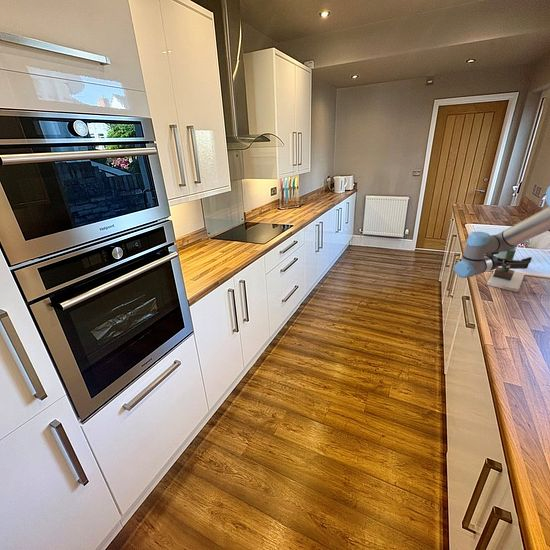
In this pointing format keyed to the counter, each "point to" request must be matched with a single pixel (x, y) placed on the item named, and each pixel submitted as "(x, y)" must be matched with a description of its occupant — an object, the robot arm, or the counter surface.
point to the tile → (507, 281)
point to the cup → (502, 254)
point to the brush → (503, 272)
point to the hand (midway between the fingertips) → (513, 255)
